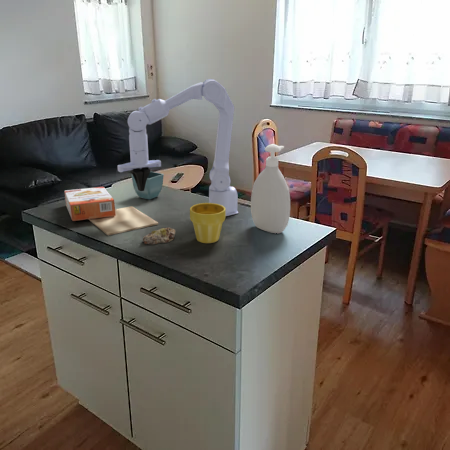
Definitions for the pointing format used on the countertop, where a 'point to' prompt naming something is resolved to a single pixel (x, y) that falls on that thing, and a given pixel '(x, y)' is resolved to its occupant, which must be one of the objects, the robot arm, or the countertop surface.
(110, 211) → the cracker box
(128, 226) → the board
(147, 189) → the flower pot
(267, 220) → the soap bottle
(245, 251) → the countertop surface
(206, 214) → the plant pot
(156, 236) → the mineral rock
